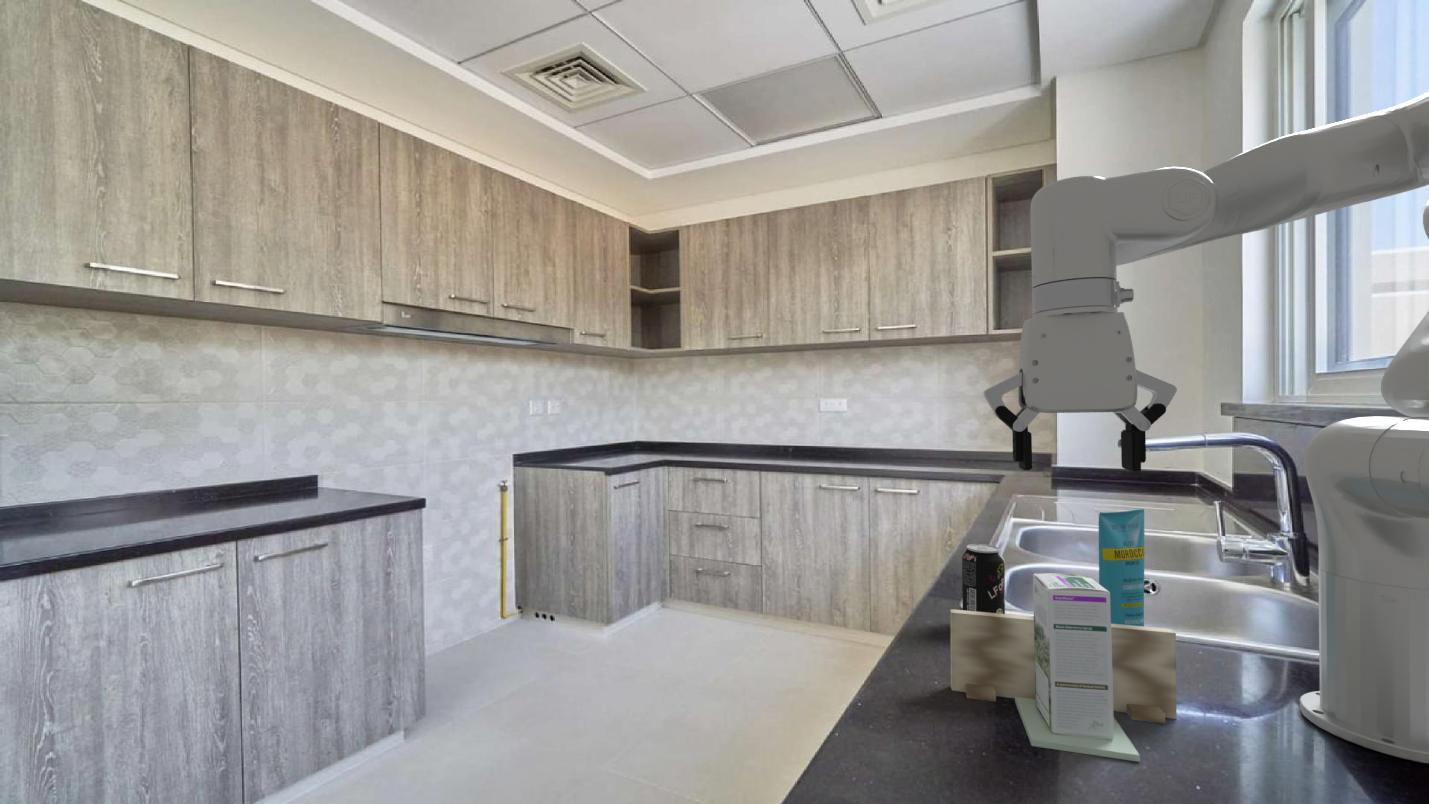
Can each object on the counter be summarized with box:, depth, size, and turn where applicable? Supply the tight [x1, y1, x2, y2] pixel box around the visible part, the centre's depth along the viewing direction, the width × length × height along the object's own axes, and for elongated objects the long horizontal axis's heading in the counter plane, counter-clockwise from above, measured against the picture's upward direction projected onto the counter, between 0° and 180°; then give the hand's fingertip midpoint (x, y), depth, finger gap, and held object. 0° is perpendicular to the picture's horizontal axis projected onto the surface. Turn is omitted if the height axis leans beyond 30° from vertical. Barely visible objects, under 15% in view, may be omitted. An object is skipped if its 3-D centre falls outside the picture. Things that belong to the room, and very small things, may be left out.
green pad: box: [1014, 697, 1141, 763], centre depth 61 cm, size 9×9×1 cm
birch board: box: [949, 608, 1178, 724], centre depth 67 cm, size 22×4×9 cm, turn 73°
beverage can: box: [961, 543, 1006, 614], centre depth 89 cm, size 6×6×12 cm
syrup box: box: [1032, 572, 1114, 740], centre depth 61 cm, size 6×6×14 cm
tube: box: [1098, 508, 1146, 627], centre depth 79 cm, size 7×5×19 cm, turn 111°
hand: (1077, 469), depth 62 cm, fingers open, 9 cm apart
